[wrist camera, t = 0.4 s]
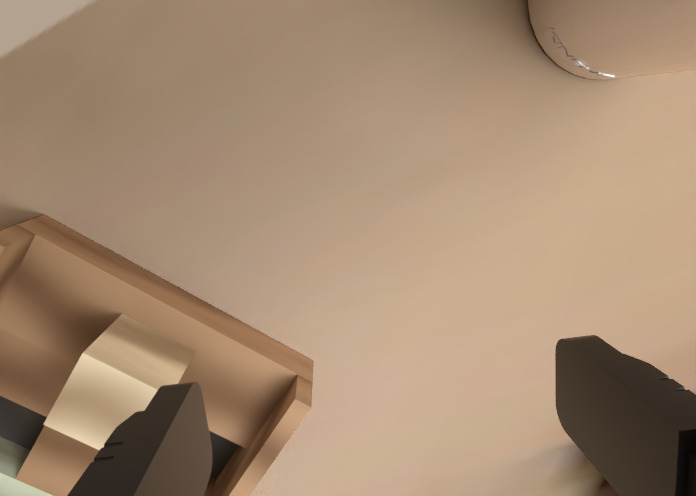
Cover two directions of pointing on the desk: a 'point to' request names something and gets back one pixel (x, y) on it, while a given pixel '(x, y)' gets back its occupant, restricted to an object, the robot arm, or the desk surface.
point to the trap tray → (90, 322)
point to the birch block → (116, 380)
